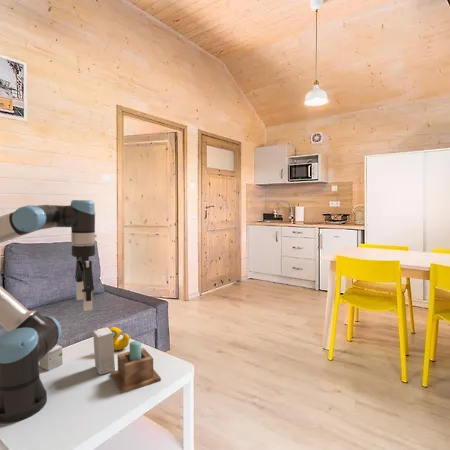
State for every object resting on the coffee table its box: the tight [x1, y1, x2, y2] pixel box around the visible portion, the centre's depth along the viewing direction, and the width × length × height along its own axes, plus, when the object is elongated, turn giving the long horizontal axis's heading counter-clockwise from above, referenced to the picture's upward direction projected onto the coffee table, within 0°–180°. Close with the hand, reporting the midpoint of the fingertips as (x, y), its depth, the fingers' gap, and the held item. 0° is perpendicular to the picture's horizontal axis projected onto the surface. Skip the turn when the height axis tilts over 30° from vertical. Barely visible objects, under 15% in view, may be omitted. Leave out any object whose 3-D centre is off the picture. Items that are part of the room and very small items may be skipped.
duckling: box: [109, 326, 130, 352], centre depth 142 cm, size 11×5×10 cm, turn 105°
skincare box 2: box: [92, 326, 116, 376], centre depth 126 cm, size 8×6×15 cm
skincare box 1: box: [39, 344, 64, 372], centre depth 128 cm, size 6×6×7 cm
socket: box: [110, 347, 162, 394], centre depth 119 cm, size 14×14×8 cm
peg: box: [129, 340, 142, 362], centre depth 119 cm, size 4×4×12 cm
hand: (84, 304), depth 115 cm, fingers open, 13 cm apart
